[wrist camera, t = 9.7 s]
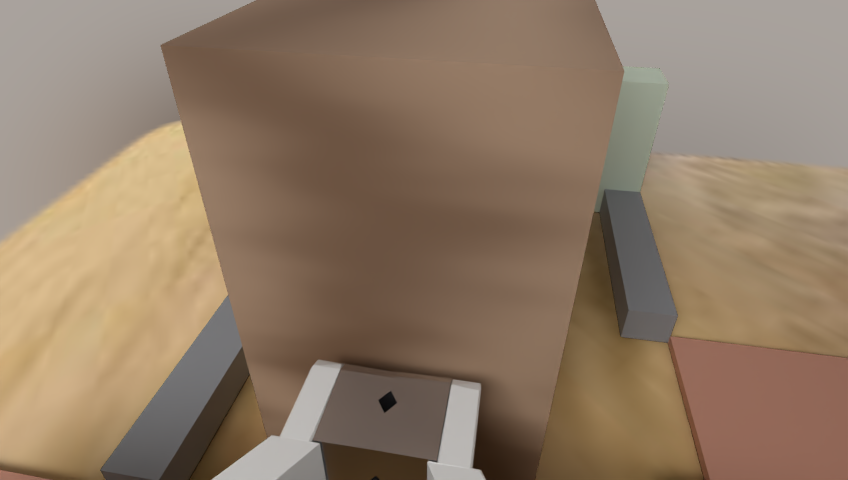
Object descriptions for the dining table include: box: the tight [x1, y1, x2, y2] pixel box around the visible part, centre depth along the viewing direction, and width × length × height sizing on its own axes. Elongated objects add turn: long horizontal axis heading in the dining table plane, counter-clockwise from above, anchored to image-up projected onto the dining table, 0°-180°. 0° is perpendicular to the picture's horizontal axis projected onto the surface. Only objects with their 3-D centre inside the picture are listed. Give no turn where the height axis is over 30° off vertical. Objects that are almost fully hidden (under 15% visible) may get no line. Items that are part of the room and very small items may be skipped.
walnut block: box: [161, 0, 624, 480], centre depth 16 cm, size 6×14×11 cm, turn 170°
